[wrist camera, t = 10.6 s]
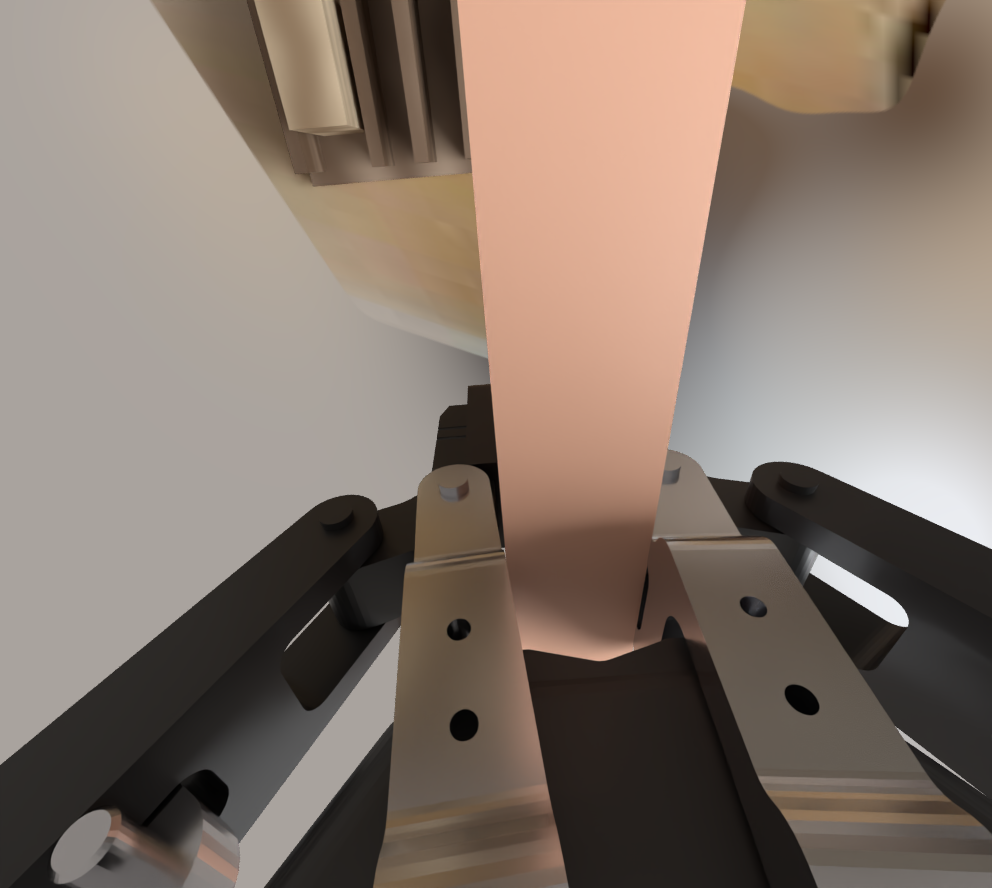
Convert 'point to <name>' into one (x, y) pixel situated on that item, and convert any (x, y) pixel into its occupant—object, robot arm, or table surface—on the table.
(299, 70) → the offcut stack
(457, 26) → the walnut rack
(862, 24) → the table surface
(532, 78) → the terracotta board
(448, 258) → the table surface
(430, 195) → the table surface
